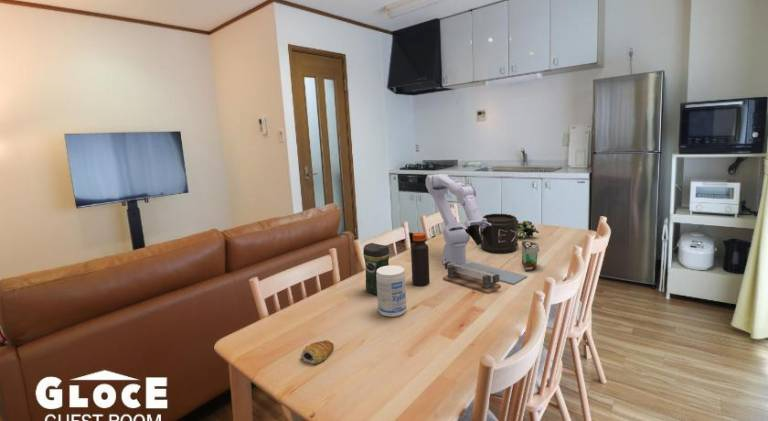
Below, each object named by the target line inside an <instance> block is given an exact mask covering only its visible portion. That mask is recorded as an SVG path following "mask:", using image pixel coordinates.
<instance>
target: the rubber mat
mask: <svg viewBox="0 0 768 421" xmlns="http://www.w3.org/2000/svg"><path fill="white" fill-rule="evenodd" d="M469 262H470V263H468V264H466V265H464V266H466V267H470V268H474V269H478V270H481V271H485V272H489V273H490V272H491V273H495V274H498V275H499V282H502V283H506V284H508V285H512V286H514V285H516V284H518V283H520V282H522V281H523V280H525V279H527V278H528V275H525V274H521V273H518V272H514V271H510V270H506V269H502V268H499V267H493V266H489V265H485V264H481V263H478V262H475V261H469Z"/></svg>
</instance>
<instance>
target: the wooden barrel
mask: <svg viewBox="0 0 768 421" xmlns="http://www.w3.org/2000/svg"><path fill="white" fill-rule="evenodd" d="M482 216H483V218H486V219H487V220H486V221H487V222H488V223H491V225H493V226H494V232H493V236H494V244H493V245H491V246H489V244H488V243H487V241H486V239H485V237H484V236H483V235H482V234H481V232H482V231H483V230H484V228H479V232H480V236H481V239H482V244H480V245H479V246H481V248H482V249H483V251H484V252H488V253H492V254H508V253H509V254H510V253H513V252H514V251H515V250H516V249H517V247H518V246H519V243H518V242H519V238H518V237H519V233H518V223H520V222H519V220H518V218H517V217H516V216H514V215H512V214H507V213H490V214H485V215H482Z"/></svg>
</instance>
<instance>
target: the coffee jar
mask: <svg viewBox="0 0 768 421" xmlns="http://www.w3.org/2000/svg"><path fill="white" fill-rule="evenodd" d="M362 254H363V259H364V262H365V290H366V292H368V293H370V294H373V295H377V279H376V274H377V269H378V268H380V267H383V266H390V263H389V260H390V248H389V246H388V245H386V244H379V243H375V242H370V243H367V244H365V245H364V246H363V253H362Z"/></svg>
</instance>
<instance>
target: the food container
mask: <svg viewBox="0 0 768 421" xmlns="http://www.w3.org/2000/svg"><path fill="white" fill-rule="evenodd" d="M540 249H541V248H540V245H539V244H538V243H537V242H535V241H530V240H521V264H522V267H523V270H524V272H533V271H535V270H536V269H537V262H538V254H539V252H540V251H541V250H540Z"/></svg>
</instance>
